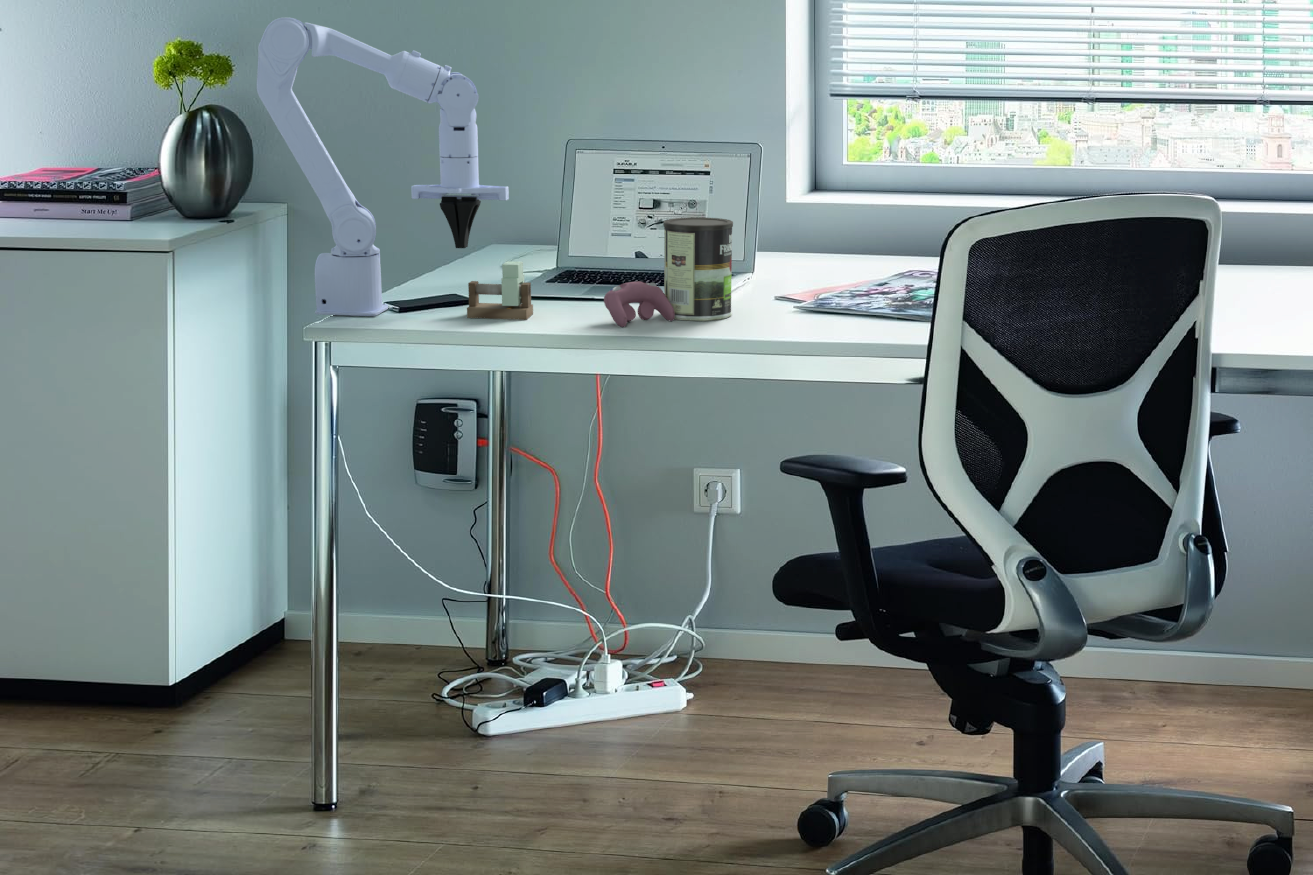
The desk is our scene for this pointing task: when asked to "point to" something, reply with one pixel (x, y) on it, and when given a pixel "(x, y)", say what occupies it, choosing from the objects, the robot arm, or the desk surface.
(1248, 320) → the desk surface
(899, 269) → the desk surface
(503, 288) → the mint green stepped block
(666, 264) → the coffee can
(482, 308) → the rod stand
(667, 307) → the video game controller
